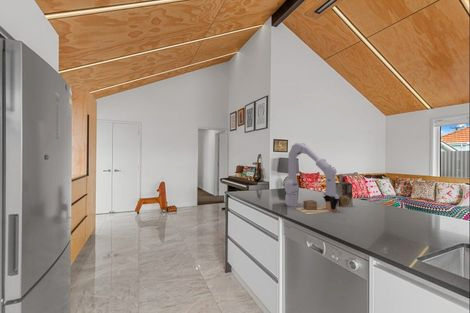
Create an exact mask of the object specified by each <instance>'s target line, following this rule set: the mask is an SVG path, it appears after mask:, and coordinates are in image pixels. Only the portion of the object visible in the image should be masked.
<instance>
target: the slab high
mask: <svg viewBox="0 0 470 313" xmlns="http://www.w3.org/2000/svg"><path fill="white" fill-rule="evenodd" d="M304 205H306V206H318V203H317V201H315V200H313V199H308V200H306V199H305V200H303V206H304Z"/></svg>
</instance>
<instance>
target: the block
mask: <svg viewBox="0 0 470 313" xmlns="http://www.w3.org/2000/svg"><path fill="white" fill-rule="evenodd" d="M325 206H326V210H329V211H335V210H338V206H337V205H336V209H332V208H331V202H330V201H326V202H325Z"/></svg>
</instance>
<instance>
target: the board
mask: <svg viewBox="0 0 470 313" xmlns="http://www.w3.org/2000/svg"><path fill="white" fill-rule="evenodd" d="M293 208H294V209H295V210H298V211H300V212H302V213H304V214H306V215H308V214H309V215H312V214H325V213H336V212H337V213H338V212H340V210H339V209H337V210H335V211H329V210H326V204H325V205H317V210H306V209H304V206H298V207H297V206H293Z"/></svg>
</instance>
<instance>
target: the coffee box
mask: <svg viewBox="0 0 470 313" xmlns="http://www.w3.org/2000/svg"><path fill="white" fill-rule="evenodd" d="M352 184H353V183H352V182H351V183H350V182H336V193H337V195H339V200H338V202H337V208H338V207H339V208H348V207H349V208H351V207H352V208H353V185H352Z"/></svg>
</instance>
